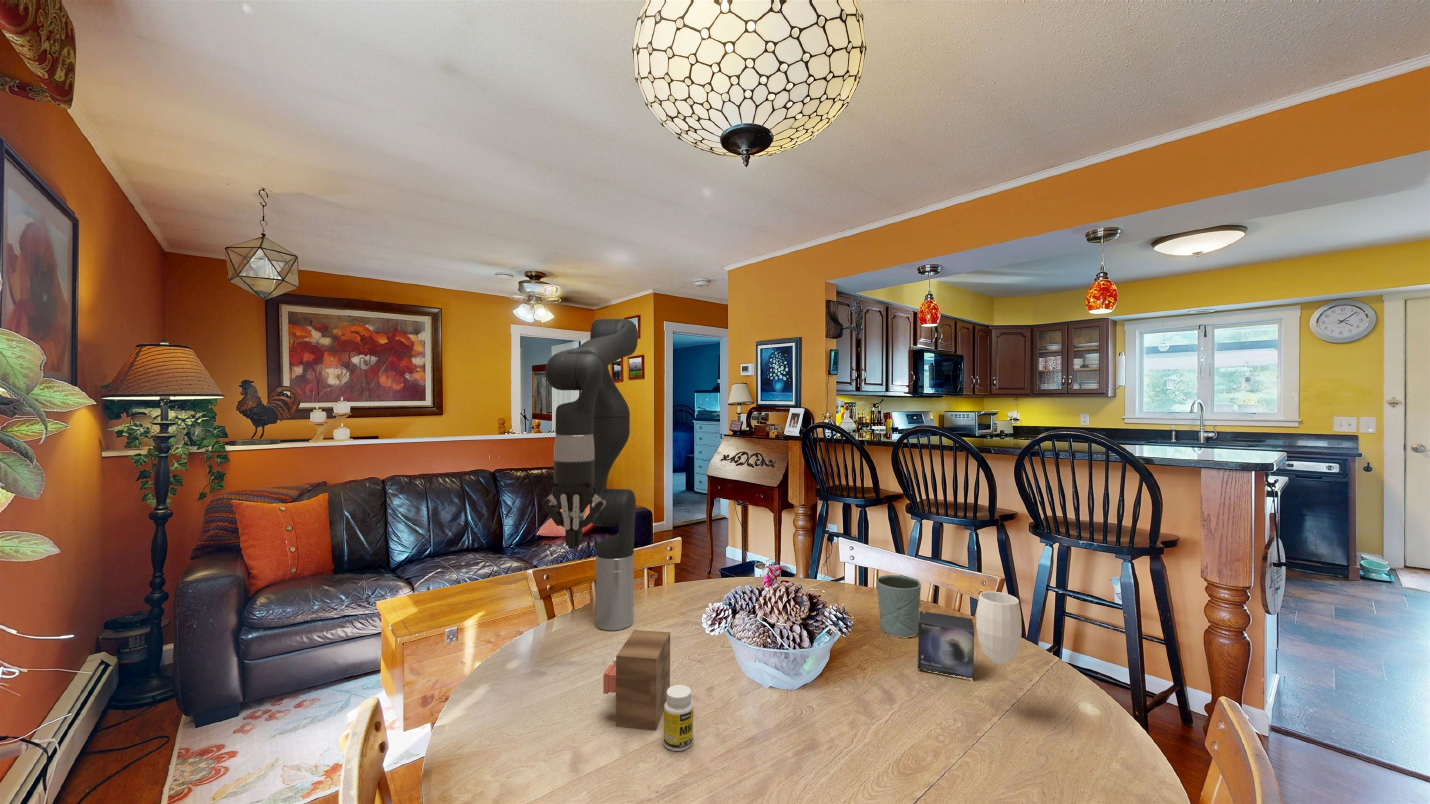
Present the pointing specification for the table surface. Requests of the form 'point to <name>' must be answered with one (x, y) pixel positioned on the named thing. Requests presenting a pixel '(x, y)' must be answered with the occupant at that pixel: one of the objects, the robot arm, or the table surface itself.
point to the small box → (946, 644)
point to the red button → (609, 680)
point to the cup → (999, 626)
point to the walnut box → (642, 679)
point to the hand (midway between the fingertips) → (573, 548)
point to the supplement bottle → (678, 718)
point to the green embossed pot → (899, 604)
